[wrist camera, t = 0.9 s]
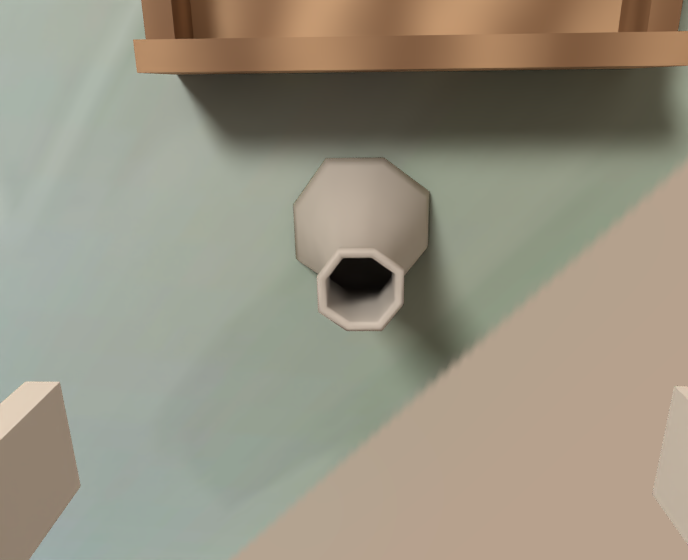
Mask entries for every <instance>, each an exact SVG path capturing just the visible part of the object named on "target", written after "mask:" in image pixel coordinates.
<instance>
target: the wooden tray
mask: <svg viewBox="0 0 688 560" xmlns="http://www.w3.org/2000/svg"><path fill="white" fill-rule="evenodd" d="M141 1H142V10H143V19H144V27H145V36H146V39H145V40H133V42H134V50H135V58H136V66H137V73H155V74H252V73H328V72H403V71H479V70H554V69H630V68H650V67H668V66H687V65H688V31H678V27H679V21H680V15H681V9H682V3H683V0H141Z"/></svg>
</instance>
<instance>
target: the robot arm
mask: <svg viewBox="0 0 688 560" xmlns="http://www.w3.org/2000/svg"><path fill="white" fill-rule="evenodd" d="M79 488H80V481H79V476H78V471H77V466H76V461H75V456H74V451H73V446H72V441H71V436H70V431H69V426H68V421H67V416H66V411H65V406H64V401H63V396H62V391H61V386H60V382H25V383H23V384H22V385H21V386H20V387H19V388H18V389H17V390H15V391H14V392H13V393H12V394H11V395H10V396H9V397H7V398H6V399H5V400H4V401H3V402H2V403H1V404H0V560H29V559H30V557H31V556H32V554H33V553H34V552H35V550H36V549H37V547H38V546H39V544H40V543H41V542H42V540H43V539H44V537H45V536H46V535H47V533H48V532H49V530H50V529H51V527H52V526H53V525H54V523H55V522H56V520H57V519H58V518H59V516H60V515H61V513H62V512H63V510H64V509H65V508H66V506H67V505H68V503H69V502H70V501H71V499H72V498H73V496H74V495H75V493H76V492H77V491H78V489H79ZM652 494H653V496H654V497H655V499H656V500H657V502H658V503H659V505H660V506H661V507H662V509H663V510H664V512H665V513H666V515H667V516H668V517H669V518H670V520H671V522H672V523H673V525H674V526H675V527H676V529H677V530H678V532H679V533H680V535H681V536H682V537H683V539H684V540H685V542H686V543H687V545H688V386H675V387H674V391H673V396H672V400H671V405H670V410H669V415H668V420H667V425H666V429H665V435H664V439H663V444H662V449H661V454H660V459H659V464H658V469H657V474H656V479H655V483H654V488H653V493H652Z"/></svg>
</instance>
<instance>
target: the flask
mask: <svg viewBox="0 0 688 560" xmlns="http://www.w3.org/2000/svg"><path fill="white" fill-rule="evenodd" d="M293 211H294V231H295V250H296V259H297V260H298V261H300V262H301V263H303V264H304V265H306V266H307V267H309V268H310V269H312V270H313V271H314V272H316V273H317V274H318V275H317V295H318V312H319V313H321V314H322V315H324V316H325V317H327V318H328V319H330V320H331V321H333V322H334V323H336V324H337V325H339V326H340V327H342V328H343V329H345V330H346V331H382V330H383V329H384V328H385V327H386V325H387V324H388V323H389V322H390V320H391V319H392V318H393V317H394V316H395V314H396V313H397V312H398V311H399V309H400V308H401V307H402V306H403V305H404V276H405V274H406V273H407V272H408V271H409V269H410V268H411V267H412V266H413V265H414V263H415V262H416V261H417V260H418V258H419V257H420V256H421V255H422V253H423V252H424V251H425V250H426V248H427V247H428V224H429V191H428V190H427V189H425V188H424V187H423V186H421V185H420V184H419V183H417V182H416V181H415V180H413V179H412V178H411V177H409V176H408V175H407V174H405V173H404V172H403V171H401V170H400V169H399V168H397V167H396V166H395V165H393V164H392V163H391V162H389V161H388V160H387V159H385V158H384V157H376V158H325V160H324V161H323V163H322V164H321V166H320V167H319V168H318V170H317V171H316V173H315V174H314V176H313V177H312V178H311V180H310V181H309V183H308V184H307V186H306V187H305V189H304V190H303V191H302V193H301V194H300V196H299V197H298V199H297V200H296V201H295V203H294V204H293Z"/></svg>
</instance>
